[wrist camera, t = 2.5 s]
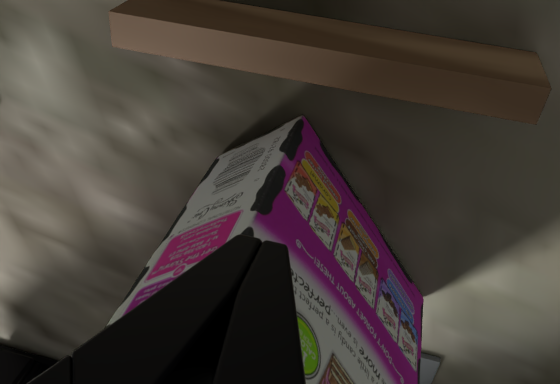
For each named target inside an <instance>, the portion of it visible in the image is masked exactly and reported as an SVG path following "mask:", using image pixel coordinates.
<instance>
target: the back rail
mask: <svg viewBox="0 0 560 384" xmlns="http://www.w3.org/2000/svg"><path fill="white" fill-rule="evenodd" d="M109 21H110V30H111V40H112V47H117V48H122V49H128V50H133V51H139V52H144V53H150V54H155V55H160V56H166V57H171V58H177V59H182V60H188V61H193V62H198V63H204V64H209V65H215V66H220V67H226V68H231V69H236V70H242V71H247V72H253V73H258V74H264V75H269V76H274V77H280V78H285V79H291V80H296V81H302V82H307V83H312V84H318V85H323V86H329V87H334V88H339V89H345V90H350V91H356V92H361V93H367V94H372V95H377V96H383V97H388V98H394V99H399V100H405V101H410V102H415V103H421V104H426V105H432V106H437V107H443V108H448V109H453V110H459V111H464V112H470V113H475V114H481V115H486V116H491V117H497V118H502V119H508V120H513V121H519V122H524V123H529V124H535V125H536V124H537V122H538V119H539V117H540V115H541V112H542V110H543V108H544V105H545V103H546V100H547V98H548V96H549V93H550V91H551V89H552V88H551V86H550V83H549V81H548V79H547V76H546V74H545V71H544V69H543V67H542V64H541V62H540V59H539V57H538V55H537V53H536V52H530V51H524V50H518V49H512V48H505V47H499V46H493V45H487V44H481V43H475V42H469V41H463V40H457V39H451V38H445V37H439V36H433V35H427V34H421V33H415V32H408V31H402V30H396V29H390V28H384V27H378V26H372V25H366V24H360V23H354V22H348V21H342V20H336V19H330V18H324V17H317V16H311V15H305V14H299V13H293V12H287V11H281V10H275V9H269V8H263V7H257V6H251V5H245V4H239V3H233V2H226V1H220V0H128V1H126V2H124V3H122V4H121V5H119V6H117V7H115V8H114V9H112V10H110V11H109Z"/></svg>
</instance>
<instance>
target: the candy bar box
mask: <svg viewBox="0 0 560 384" xmlns="http://www.w3.org/2000/svg"><path fill="white" fill-rule="evenodd" d="M239 234H243V235H247V236H252V237H256V238H259V239H261V240H262V242H263V241H265V240H269V241H273V242H278V243H282V244H285V245H287V247H288V250H289V258H290V265H291V273H292V281H293V288H294V296H295V303H296V311H297V318H298V326H299V333H300V341H301V348H302V356H303V363H304V371H305V378H306V384H420V363H421V341H422V317H423V297H422V295H421V293H420V292H419V290H418V289H417V287H416V286H415V284H414V283H413V281H412V280H411V278H410V277H409V275H408V274H407V272H406V271H405V269H404V268H403V266H402V265H401V263H400V262H399V260H398V259H397V257H396V256H395V254H394V253H393V251H392V250H391V248H390V247H389V245H388V244H387V242H386V241H385V239H384V238H383V236H382V235H381V233H380V232H379V230H378V229H377V227H376V226H375V224H374V223H373V221H372V220H371V218H370V217H369V215H368V213H367V212H366V210H365V209H364V207H363V206H362V204H361V203H360V201H359V199H358V198H357V196H356V195H355V193H354V192H353V190H352V189H351V187H350V186H349V184H348V182H347V181H346V180H345V178H344V177H343V175H342V173H341V172H340V170H339V169H338V167H337V166H336V164H335V163H334V161H333V160H332V158H331V156H330V155H329V153H328V152H327V150H326V149H325V147H324V146H323V144H322V143H321V141H320V139H319V138H318V136H317V135H316V133H315V132H314V130H313V129H312V127H311V126H310V124H309V123H308V121H307V120H306V118H305V117H304V115H301V116H299V117H296V118H294V119H292V120H290V121H288V122H286V123H284V124H282V125H280V126H278V127H277V128H275V129H273V130H272V131H270V132H268V133H266V134H263V135H261V136H259V137H257V138H255V139H252V140H250V141H249V142H246V143H244V144H241V145H239V146H236V147H235V148H233V149H231V150H229V151H228V152H226V153H224V154H222V155H220V156H218V157H217V158H216V160H215V161H214V162H213V164H212V165H211V167H210V168H209V170H208V171H207V173H206V174H205V176H204V177H203V179H202V180H201V182H200V184H199V185H198V187H197V189H196V190H195V192H194V193H193V195H192V196H191V198H190V199H189V201H188V202H187V204H186V205H185V207H184V208H183V210H182V211H181V213H180V214H179V215H178V217H177V219H176V220H175V222H174V223H173V225H172V227H171V228H170V230H169V231H168V233H167V234H166V236H165V237H164V239H163V241H162V242H161V244H160V245H159V247H158V249H157V250H156V251H155V252H154V254H153V255H152V257H151V258H150V260H149V261H148V263H147V265H146V266H145V268H144V270H143V271H142V273H141V274H140V276H139V277H138V278H137V280H136V281H135V283H134V285H133V286H132V288H131V290H130V291H129V293H128V294H127V296H126V297H125V299H124V301H123V303H122V304H121V305H120V306H119V308H118V309H117V310H116V312H115V313H114V315H113V316H112V318H111V320H110V321H109V323H108V324H107V326H106V327H105V328H107V327H108V326H109V325H111V324H112V323H114V322H115V321H116V320H118V319H119V318H121V317H122V316H123V315H125V314H126V313H128V312H129V311H130V310H132V309H133V308H135V307H136V306H137V305H139V304H140V303H142V302H143V301H145V300H146V299H147V298H149V297H150V296H152V295H153V294H154V293H156V292H157V291H159V290H160V289H161V288H163V287H164V286H166V285H167V284H168V283H170V282H171V281H173V280H174V279H175V278H177V277H178V276H180V275H181V274H182V273H184V272H185V271H187V270H188V269H190V268H191V267H192V266H194V265H195V264H197V263H198V262H199V261H201V260H202V259H204V258H205V257H206V256H208V255H209V254H211V253H212V252H213V251H215V250H216V249H218V248H219V247H220V246H222V245H223V244H225V243H226V242H227V241H229V240H230V239H232V238H233V237H235V236H236V235H239Z"/></svg>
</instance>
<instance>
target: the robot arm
mask: <svg viewBox="0 0 560 384" xmlns="http://www.w3.org/2000/svg"><path fill="white" fill-rule="evenodd" d="M0 384H306V378H305V371H304V363H303V356H302V348H301V341H300V333H299V326H298V318H297V311H296V303H295V296H294V288H293V281H292V273H291V265H290V258H289V250H288V247H287V245H285V244H282V243H278V242H273V241H269V240H265V241H263V242H262V240H261V239H259V238H256V237H252V236H247V235H243V234H239V235H236V236H235V237H233V238H232V239H230V240H229V241H227V242H226V243H225V244H223V245H222V246H220V247H219V248H218V249H216V250H215V251H213V252H212V253H211V254H209V255H208V256H206V257H205V258H204V259H202V260H201V261H199V262H198V263H197V264H195V265H194V266H192V267H191V268H190V269H188V270H187V271H185V272H184V273H182V274H181V275H180V276H178V277H177V278H175V279H174V280H173V281H171V282H170V283H168V284H167V285H166V286H164V287H163V288H161V289H160V290H159V291H157V292H156V293H154V294H153V295H152V296H150V297H149V298H147V299H146V300H145V301H143V302H142V303H140V304H139V305H137V306H136V307H135V308H133V309H132V310H130V311H129V312H128V313H126V314H125V315H123V316H122V317H121V318H119V319H118V320H116V321H115V322H114V323H112V324H111V325H109V326H108V327H107V328H105V329H104V330H102V331H101V332H100V333H98V334H97V335H95V336H94V337H92V338H91V339H90V340H88V341H87V342H85V343H84V344H83V345H81V346H80V347H78V348H77V349H76V350H74V351H73V352H72V354H71V356H69V355H67V356H65V357H64V358H63V359H61V360H60V361H55V360H52V359H48V358H44V357H41V356H37V355H34V354H30V353H27V352H23V351H20V350H16V349H13V348H9V347H6V346H2V345H0Z"/></svg>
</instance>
